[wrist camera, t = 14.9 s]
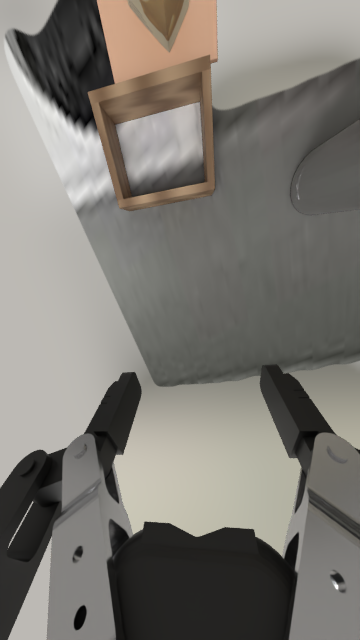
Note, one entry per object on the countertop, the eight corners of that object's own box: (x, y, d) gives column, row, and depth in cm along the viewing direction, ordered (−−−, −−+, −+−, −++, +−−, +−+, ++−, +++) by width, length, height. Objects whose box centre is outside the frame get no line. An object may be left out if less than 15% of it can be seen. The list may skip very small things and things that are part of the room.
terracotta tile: (213, -98, 16) (213, -107, 16) (217, 61, 21) (217, 58, 21) (88, -44, 18) (85, -51, 18) (117, 91, 23) (116, 89, 23)
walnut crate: (206, 88, 22) (210, 54, 18) (211, 195, 28) (214, 189, 24) (106, 116, 24) (87, 92, 20) (129, 211, 30) (119, 208, 26)
